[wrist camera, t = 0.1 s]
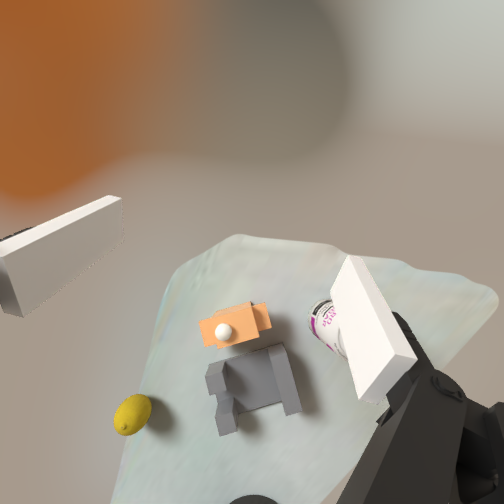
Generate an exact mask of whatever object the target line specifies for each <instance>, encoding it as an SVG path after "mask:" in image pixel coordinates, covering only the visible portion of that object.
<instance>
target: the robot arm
mask: <svg viewBox="0 0 504 504" xmlns="http://www.w3.org/2000/svg"><path fill="white" fill-rule="evenodd" d="M123 241H124V228H123V212H122V199H121V198H118V197H115V196H111V195H107V196H105V197H103V198H101V199H98V200H96V201H94V202H91V203H89V204H87V205H84V206H82V207H80V208H77V209H75V210H73V211H71V212H68V213H66V214H64V215H62V216H59V217H57V218H55V219H52V220H50V221H48V222H45V223H43V224H41V225H38V226H35V227H30V228H26V229H24V230H21V231H19V232H17V233H14V234H13V235H9V236H7V237H5V238H3V240H2V239H0V304H1V307H2V309H3V311H4V313H7V314H11V315H15V316H19V317H25V316H26V315H28V314H29V313H30V312H32V311H33V310H34V309H36V308H37V307H38V306H40V305H41V304H42V303H43V302H45V301H46V300H47V299H49V298H50V297H51V296H53V295H54V294H55V293H57V292H58V291H59V290H60V289H62V288H63V287H64V286H66V285H67V284H68V283H69V282H71V281H72V280H73V279H75V278H76V277H77V276H79V275H80V274H81V273H83V272H84V271H85V270H87V269H88V268H89V267H91V266H92V265H93V264H95V263H96V262H97V261H98V260H100V259H101V258H102V257H104V256H105V255H106V254H107V253H109V252H110V251H111V250H112V249H114V248H115V247H117V246H118V245H119V244H120V243H122V242H123ZM330 294H331V297H332V301H333V305H334V309H335V312H336V316H337V320H338V324H339V327H340V331H341V335H342V339H343V342H344V346H345V350H346V354H347V357H348V361H349V365H350V369H351V372H352V376H353V380H354V384H355V387H356V391H357V395H358V399H359V400H361V401H365V402H369V403H373V404H379V403H380V402H381V401H382V400H383V399H384V398H385V396H387V399H388V402H389V404H390V407H389V408H388V409H387V410H386V411H385V412H384V413H383V415H382V416H381V417H380V418H379V419H378V420H377V421H376V422H377V423H378V424H379V425H378V426H377V428H376V430H375V432H374V434H373V436H372V438H371V440H370V441H369V443H368V445H367V447H366V449H365V451H364V453H363V455H362V456H361V458H360V460H359V462H358V464H357V466H356V468H355V470H354V471H353V473H352V475H351V477H350V479H349V481H348V483H347V485H346V487H345V488H344V490H343V492H342V494H341V496H340V498H339V500H338V501H337V503H336V504H504V403H502V402H498V403H496V404H495V405H493V406H492V407H491V408H489V409H488V408H486V407H484V406H482V405H480V404H478V403H476V402H474V401H472V400H470V399H468V398H467V397H466V395H465V393H464V392H463V390H462V389H461V388H460V386H459V385H458V384H457V383H456V382H455V381H454V380H453V379H451V378H450V377H449V376H448V375H446V374H444V373H442V372H441V371H439V370H436V369H434V367H433V365H432V364H431V362H430V360H429V359H428V357H427V355H426V354H425V352H424V350H423V349H422V347H421V345H420V344H419V342H418V341H417V339H416V337H415V336H414V334H413V333H412V331H411V329H410V327H409V326H408V324H407V322H406V321H405V320H404V319H403V318H402V317H401V316H400V315H399V314H398V313H396V312H392V311H391V310H390V309H389V307H388V305H387V303H386V301H385V300H384V298H383V296H382V294H381V292H380V291H379V289H378V287H377V285H376V283H375V282H374V280H373V278H372V276H371V274H370V273H369V271H368V269H367V267H366V265H365V264H364V262H363V260H362V258H360V257H356V256H352V255H348V256H347V258H346V260H345V262H344V264H343V266H342V268H341V270H340V272H339V274H338V276H337V278H336V280H335V283H334V285H333V287H332V289H331V291H330ZM230 504H277V503H276V502H274V501H273V500H271V499H269V498H267V497H264V496H259V495H248V496H244V497H240V498H238V499H236V500H234V501H233V502H231V503H230Z"/></svg>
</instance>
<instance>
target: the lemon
mask: <svg viewBox="0 0 504 504" xmlns="http://www.w3.org/2000/svg"><path fill="white" fill-rule="evenodd" d="M151 410H152V405H151V402H150V400H149V398H148V397H147V396H145V395H142V394H136V395H132V396H130V397H129V398H127V399H126V400H125V401H124V402H123V403H122V404H121V405H120V406H119V408H118V409H117V411H116V414H115V416H114V427H115V430H116V431H117V432H118V433H119V434H121V435H124V436H128V435H132V434H134V433H136V432H138V431H139V430H140V429H142V428H143V426H144V425H145V424H146V423H147V421H148V419H149V417H150V415H151Z"/></svg>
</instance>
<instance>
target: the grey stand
mask: <svg viewBox="0 0 504 504" xmlns="http://www.w3.org/2000/svg"><path fill="white" fill-rule="evenodd" d="M205 379H206V383H207V387H208V391H209V395H213V394H216V398H217V402H218V406H217V410H216V415H215V419H216V423H217V428H218V432H219V436H224V435H227V434H230V433H233V432H236V431H237V424H238V414H240V413H243V412H246V411H250V410H253V409H256V408H259V407H263V406H266V405H269V404H272V403H276V402H279V401H282V404H283V407H284V411H285V414H286V416H288V415H291V414H294V413H298V412H301V411H303V410H302V406H301V403H300V399H299V396H298V392H297V388H296V385H295V381H294V378H293V374H292V371H291V367H290V363H289V360H288V356H287V353H286V351H285V349H284V346H283V343H280V344H277V345H273V346H270V347H266V348H263V349H260V350H256V351H253V352H249V353H246V354H243V355H239V356H236V357H233V358H229V359H226V360H222V361H219V362H216V363H212V364H209V368H208V370H207V373H206V375H205Z"/></svg>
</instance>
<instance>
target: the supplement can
mask: <svg viewBox="0 0 504 504" xmlns="http://www.w3.org/2000/svg"><path fill="white" fill-rule="evenodd" d="M308 324H309V328H310V330H311V331H312V333H313V334H314V335H315V336H316V337H317V338H319V339H320V340H321V341H322V342H323V343H325V344H326V345H327V346H328V347H329V348H330V349H332V350H333V351H334V352H335V353H336V354H337V355H339V356H340V357H341V358H343V359H344V360H345V361H348V357H347V354H346V350H345V346H344V342H343V339H342V335H341V331H340V327H339V324H338V320H337V316H336V312H335V309H334V305H333V301H332V299H322V300H320V301H317V302H316V303H315V304H314V305H313V306H312V307H311V309H310V311H309V313H308ZM348 362H349V361H348Z"/></svg>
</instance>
